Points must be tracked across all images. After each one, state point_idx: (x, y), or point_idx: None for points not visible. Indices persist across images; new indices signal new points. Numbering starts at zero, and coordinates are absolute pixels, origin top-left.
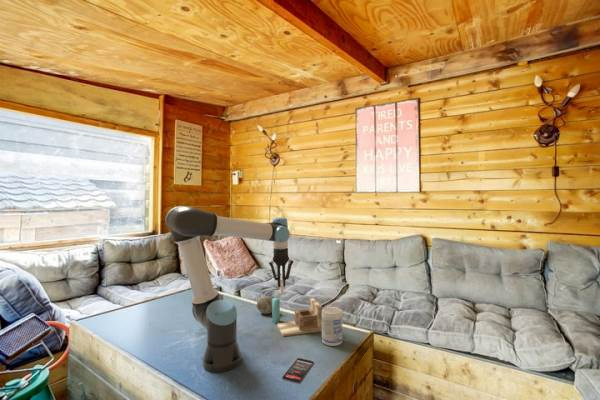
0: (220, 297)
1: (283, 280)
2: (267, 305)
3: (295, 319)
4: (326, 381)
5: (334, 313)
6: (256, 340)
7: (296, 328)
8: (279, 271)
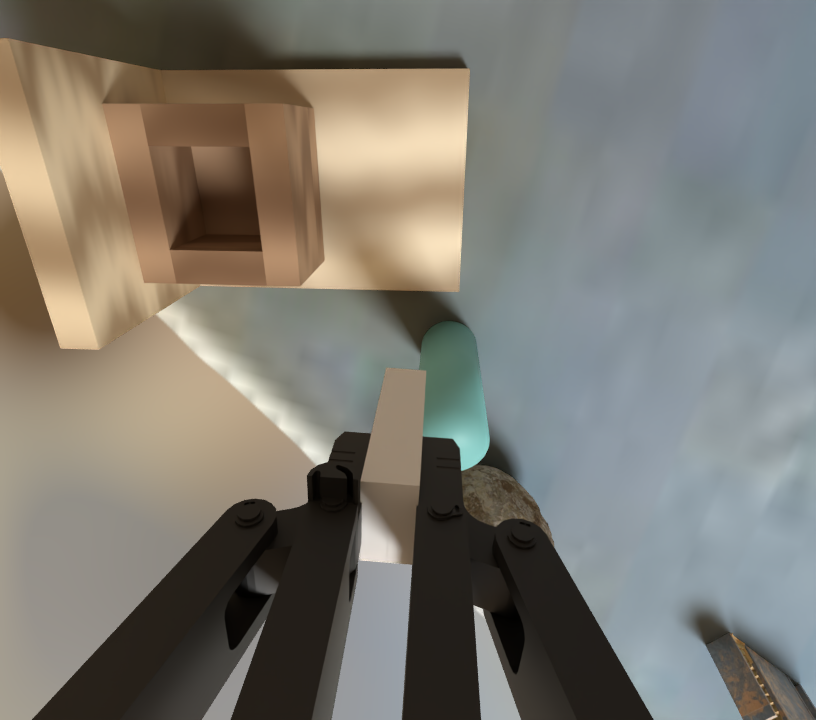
0: (770, 705)
1: (356, 474)
2: (489, 493)
3: (315, 246)
4: None
5: None
6: (692, 72)
7: (334, 149)
8: (430, 710)
